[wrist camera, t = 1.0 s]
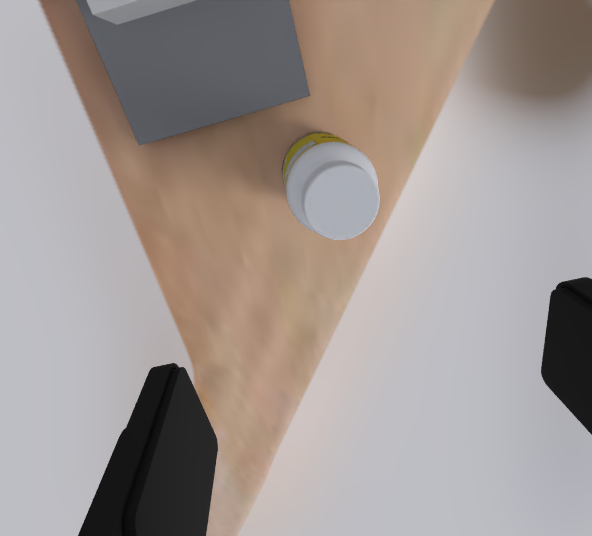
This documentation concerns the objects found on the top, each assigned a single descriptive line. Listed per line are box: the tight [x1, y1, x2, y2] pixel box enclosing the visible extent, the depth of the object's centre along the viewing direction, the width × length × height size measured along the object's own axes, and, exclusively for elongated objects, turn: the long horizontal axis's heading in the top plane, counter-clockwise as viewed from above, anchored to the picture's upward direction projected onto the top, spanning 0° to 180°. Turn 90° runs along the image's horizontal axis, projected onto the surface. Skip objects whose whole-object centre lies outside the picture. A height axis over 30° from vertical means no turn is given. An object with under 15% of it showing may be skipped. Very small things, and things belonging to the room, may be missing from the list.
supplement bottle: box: [282, 132, 380, 240], centre depth 23 cm, size 5×5×10 cm
